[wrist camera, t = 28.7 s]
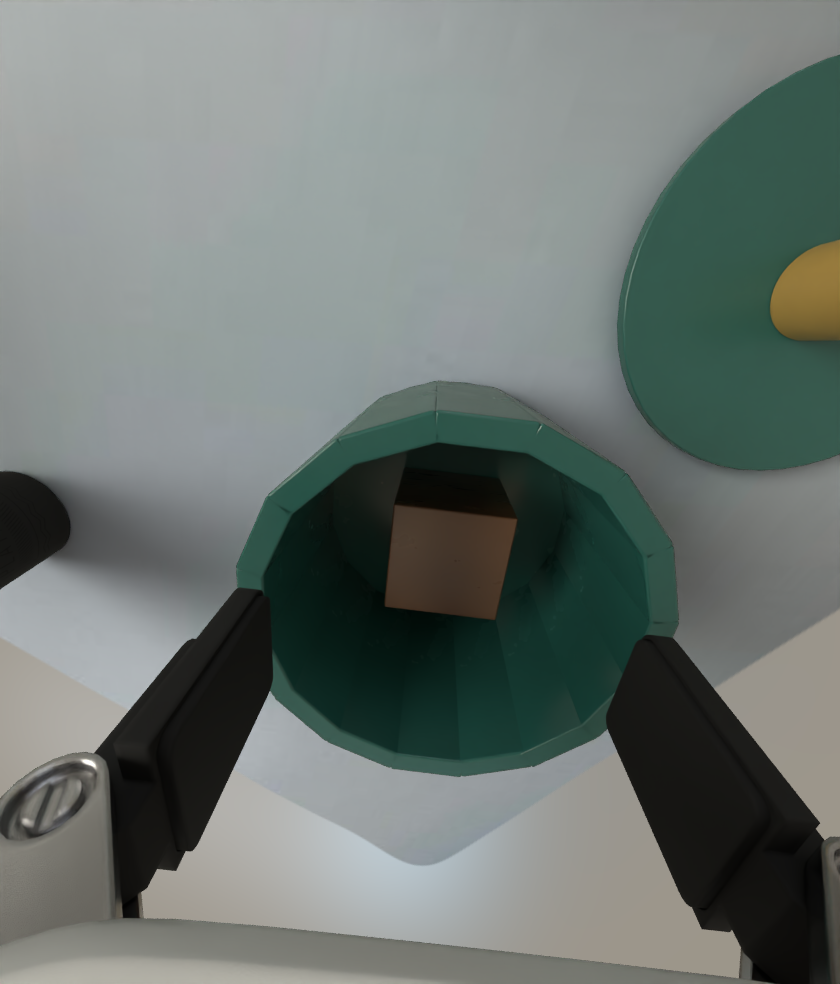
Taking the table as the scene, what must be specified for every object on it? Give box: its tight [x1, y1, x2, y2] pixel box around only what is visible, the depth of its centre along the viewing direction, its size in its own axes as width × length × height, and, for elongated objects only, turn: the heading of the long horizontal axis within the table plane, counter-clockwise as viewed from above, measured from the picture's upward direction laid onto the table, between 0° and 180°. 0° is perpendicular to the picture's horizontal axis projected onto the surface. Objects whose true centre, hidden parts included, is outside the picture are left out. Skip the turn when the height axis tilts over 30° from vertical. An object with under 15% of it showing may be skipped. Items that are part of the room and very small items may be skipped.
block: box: [384, 467, 518, 620], centre depth 17 cm, size 4×4×4 cm
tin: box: [236, 381, 679, 777], centre depth 15 cm, size 13×13×8 cm
